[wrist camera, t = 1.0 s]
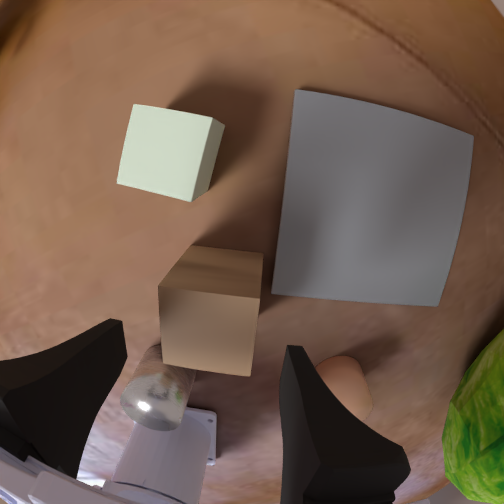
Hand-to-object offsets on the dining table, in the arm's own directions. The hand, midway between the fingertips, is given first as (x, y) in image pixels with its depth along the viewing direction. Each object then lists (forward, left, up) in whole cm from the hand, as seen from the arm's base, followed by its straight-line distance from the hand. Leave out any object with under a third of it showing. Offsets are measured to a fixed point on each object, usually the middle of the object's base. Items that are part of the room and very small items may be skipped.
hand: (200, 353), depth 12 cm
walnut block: (0, 0, -8) cm, 8 cm away
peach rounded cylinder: (-7, -9, -8) cm, 14 cm away
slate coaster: (+6, -9, -7) cm, 13 cm away
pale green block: (+8, +3, -8) cm, 11 cm away
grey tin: (-8, +4, -7) cm, 12 cm away
